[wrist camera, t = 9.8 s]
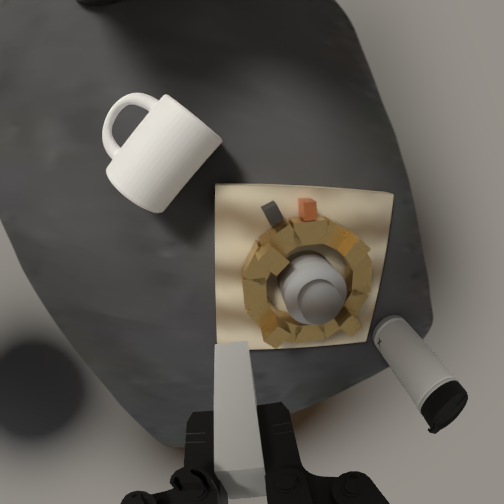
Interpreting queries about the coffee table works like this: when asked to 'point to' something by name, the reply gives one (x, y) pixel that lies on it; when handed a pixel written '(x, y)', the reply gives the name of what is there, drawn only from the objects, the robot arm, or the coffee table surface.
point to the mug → (157, 151)
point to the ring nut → (275, 260)
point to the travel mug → (420, 372)
